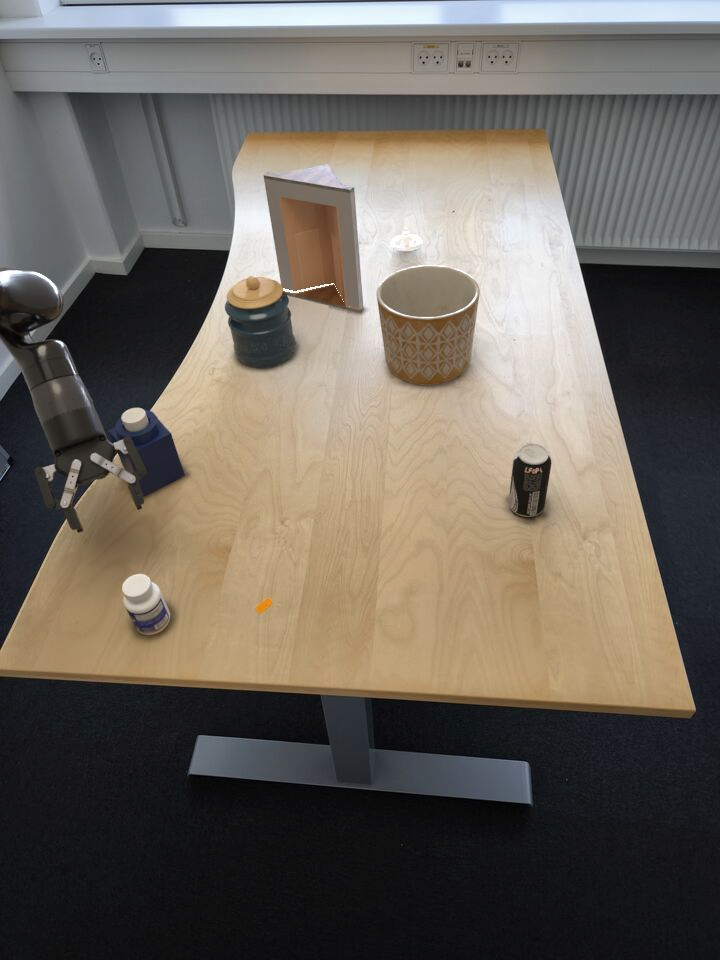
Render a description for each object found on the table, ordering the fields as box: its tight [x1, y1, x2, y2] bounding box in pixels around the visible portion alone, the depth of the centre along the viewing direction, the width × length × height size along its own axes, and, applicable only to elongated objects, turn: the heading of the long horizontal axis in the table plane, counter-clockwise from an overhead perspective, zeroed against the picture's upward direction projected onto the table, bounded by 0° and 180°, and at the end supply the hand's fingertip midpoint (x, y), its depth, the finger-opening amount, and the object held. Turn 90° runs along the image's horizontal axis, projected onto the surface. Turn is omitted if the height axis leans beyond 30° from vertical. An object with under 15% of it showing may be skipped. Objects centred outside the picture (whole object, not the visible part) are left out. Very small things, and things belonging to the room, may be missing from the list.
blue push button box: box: [108, 409, 186, 497], centre depth 127 cm, size 8×8×12 cm
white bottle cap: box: [120, 407, 149, 432], centre depth 122 cm, size 4×4×2 cm
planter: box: [376, 264, 481, 386], centre depth 143 cm, size 19×19×16 cm
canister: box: [224, 275, 296, 369], centre depth 150 cm, size 13×13×18 cm
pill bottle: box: [121, 573, 171, 636], centre depth 105 cm, size 5×5×9 cm
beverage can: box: [508, 442, 552, 518], centre depth 115 cm, size 6×6×12 cm
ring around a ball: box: [389, 227, 423, 253], centre depth 182 cm, size 8×6×8 cm
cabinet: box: [263, 163, 364, 314], centre depth 161 cm, size 21×10×28 cm, turn 61°
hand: (110, 520), depth 104 cm, fingers open, 8 cm apart
